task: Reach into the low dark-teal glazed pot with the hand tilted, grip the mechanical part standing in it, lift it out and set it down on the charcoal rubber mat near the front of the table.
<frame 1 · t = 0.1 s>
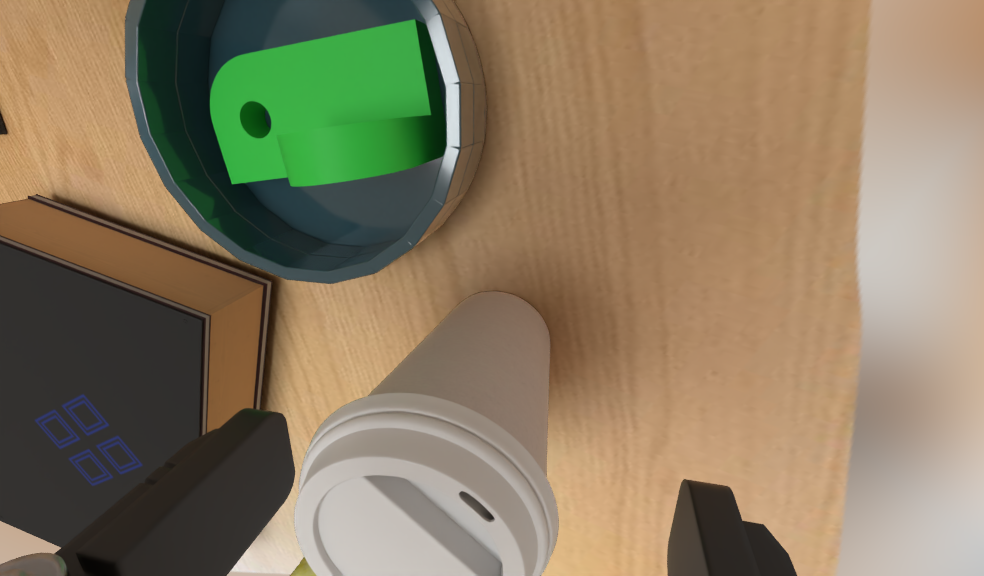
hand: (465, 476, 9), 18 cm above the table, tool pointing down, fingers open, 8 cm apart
coffee cup: (497, 338, 29), on the table
mechanical part: (336, 109, 25), resting on pot
miniature tv stand: (166, 380, 37), on the table
pot: (340, 109, 26), on the table
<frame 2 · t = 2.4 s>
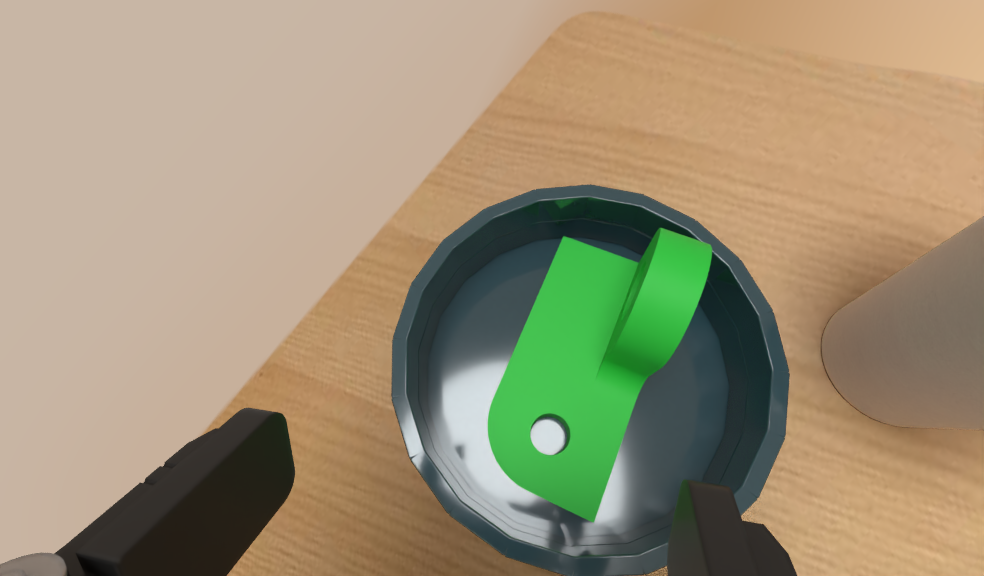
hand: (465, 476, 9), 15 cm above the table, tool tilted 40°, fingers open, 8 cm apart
coffee cup: (887, 360, 24), on the table
mechanical part: (573, 372, 24), resting on pot
pot: (572, 373, 25), on the table
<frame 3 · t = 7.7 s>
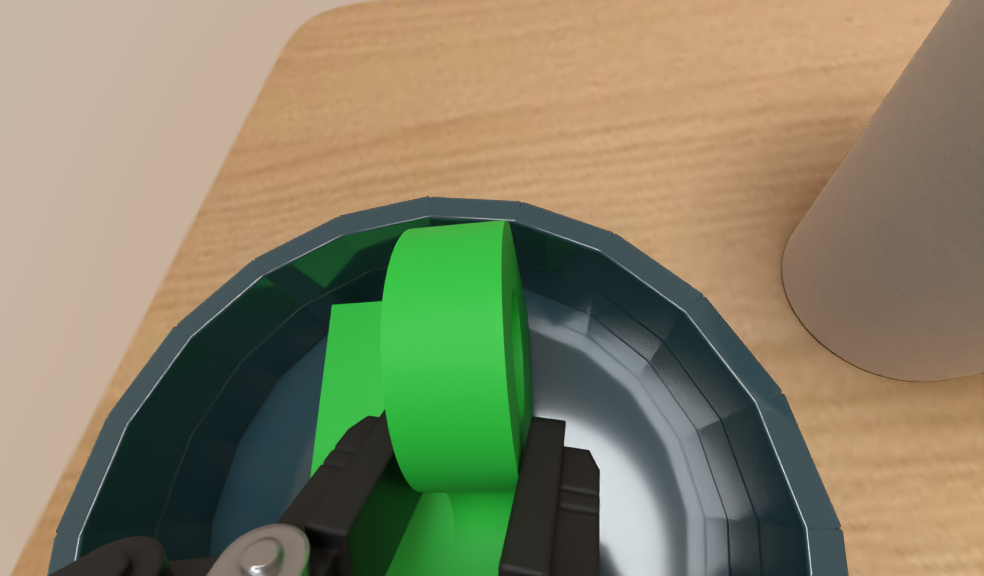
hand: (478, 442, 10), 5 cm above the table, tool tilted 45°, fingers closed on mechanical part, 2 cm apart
coffee cup: (884, 286, 16), on the table
mechanical part: (437, 512, 14), resting on pot, touching gripper
pot: (458, 520, 14), on the table
when the fingers open (5 cm above the table, at t = 17.2 s): mechanical part stays where it is, resting on mat.
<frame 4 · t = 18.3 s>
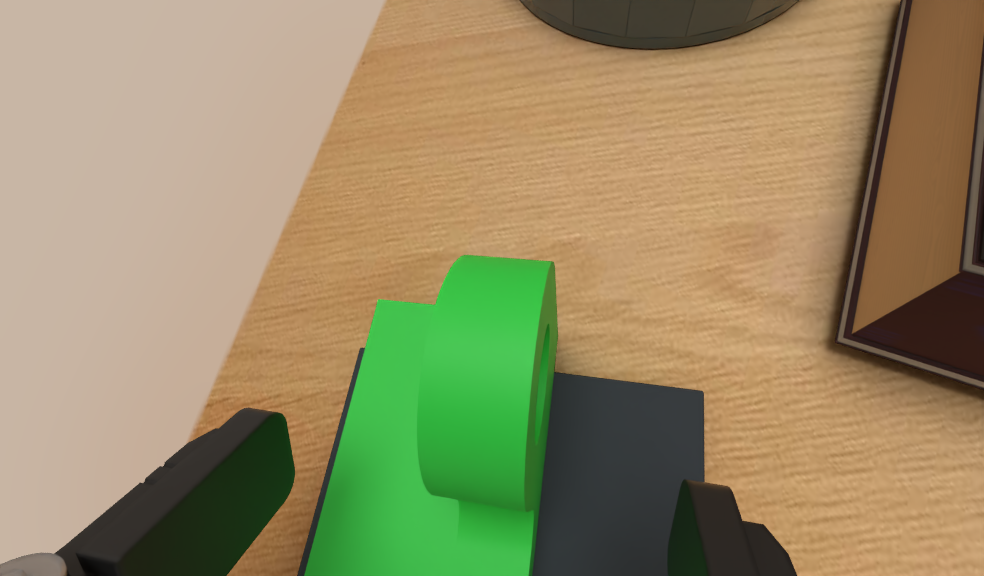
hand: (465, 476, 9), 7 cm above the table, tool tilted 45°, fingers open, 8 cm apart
mechanical part: (444, 507, 15), resting on mat
mat: (499, 525, 15), on the table
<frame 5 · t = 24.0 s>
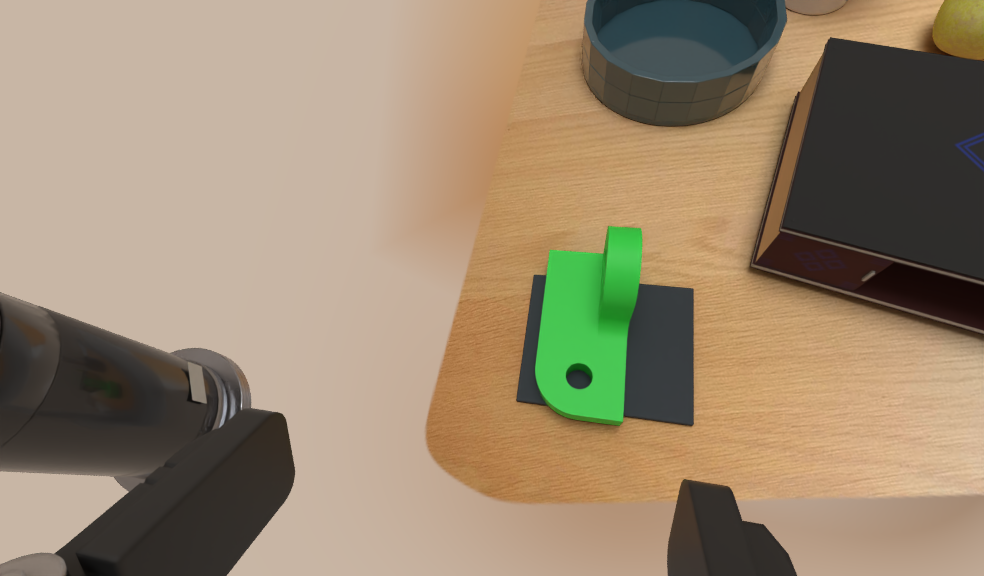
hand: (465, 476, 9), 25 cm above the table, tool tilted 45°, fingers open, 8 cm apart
mechanical part: (582, 337, 35), resting on mat
miniature tv stand: (948, 226, 35), on the table
fruit: (958, 53, 41), on the table
mat: (606, 345, 35), on the table
pot: (670, 59, 45), on the table
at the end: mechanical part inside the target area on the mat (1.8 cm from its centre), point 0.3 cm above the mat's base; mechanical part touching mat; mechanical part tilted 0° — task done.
